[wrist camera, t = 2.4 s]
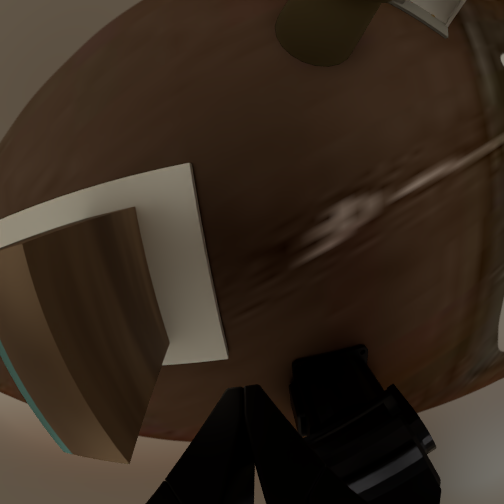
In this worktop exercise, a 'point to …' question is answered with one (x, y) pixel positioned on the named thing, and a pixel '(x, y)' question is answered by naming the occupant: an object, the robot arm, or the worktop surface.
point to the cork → (324, 28)
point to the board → (151, 250)
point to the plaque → (83, 332)
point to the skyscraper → (431, 12)
